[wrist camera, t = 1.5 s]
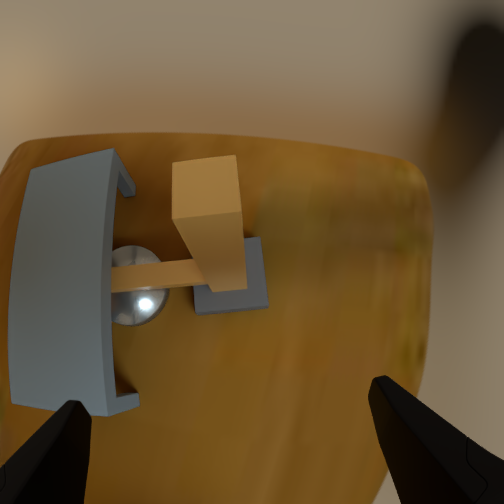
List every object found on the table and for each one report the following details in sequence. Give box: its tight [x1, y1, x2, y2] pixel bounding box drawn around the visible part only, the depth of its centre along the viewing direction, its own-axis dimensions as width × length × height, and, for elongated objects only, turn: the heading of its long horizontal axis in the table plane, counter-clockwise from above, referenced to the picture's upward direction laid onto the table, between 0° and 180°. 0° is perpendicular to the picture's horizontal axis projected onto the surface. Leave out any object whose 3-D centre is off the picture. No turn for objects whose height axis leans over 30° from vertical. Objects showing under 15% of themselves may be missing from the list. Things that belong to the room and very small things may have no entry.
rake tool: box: [111, 155, 269, 315], centre depth 17 cm, size 14×7×13 cm, turn 96°
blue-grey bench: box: [8, 148, 140, 416], centre depth 20 cm, size 8×18×6 cm, turn 6°
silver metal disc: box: [111, 245, 170, 326], centre depth 22 cm, size 6×6×1 cm
